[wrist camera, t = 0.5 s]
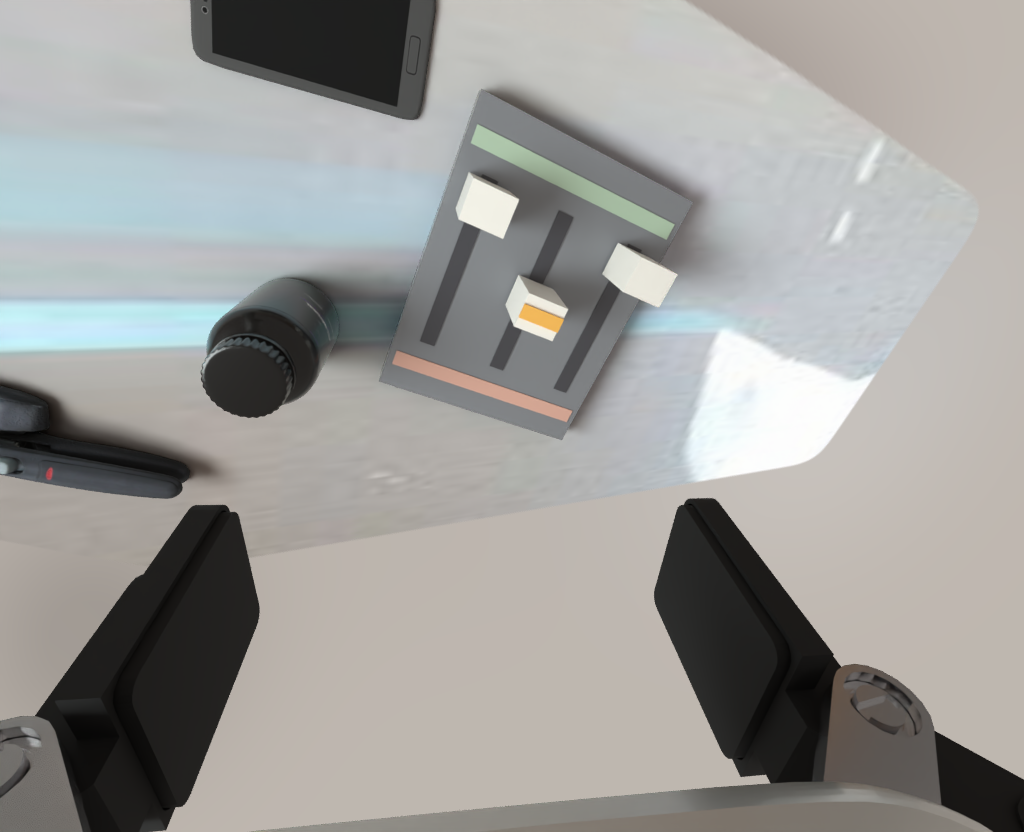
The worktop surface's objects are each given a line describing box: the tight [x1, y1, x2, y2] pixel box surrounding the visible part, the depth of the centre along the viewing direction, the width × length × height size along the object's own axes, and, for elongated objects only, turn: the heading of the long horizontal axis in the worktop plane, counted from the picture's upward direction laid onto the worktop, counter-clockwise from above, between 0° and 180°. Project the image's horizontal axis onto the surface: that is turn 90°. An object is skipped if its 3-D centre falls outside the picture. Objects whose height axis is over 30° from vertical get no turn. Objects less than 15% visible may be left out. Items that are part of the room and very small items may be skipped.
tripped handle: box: [505, 275, 568, 341], centre depth 37 cm, size 3×2×5 cm
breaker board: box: [379, 89, 693, 440], centre depth 40 cm, size 17×22×2 cm
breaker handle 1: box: [456, 172, 519, 239], centre depth 33 cm, size 3×2×5 cm
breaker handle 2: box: [602, 243, 678, 308], centre depth 37 cm, size 3×2×5 cm
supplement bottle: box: [201, 278, 339, 418], centre depth 35 cm, size 7×7×12 cm
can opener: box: [0, 386, 190, 499], centre depth 40 cm, size 18×7×6 cm, turn 61°
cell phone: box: [190, 0, 436, 120], centre depth 31 cm, size 7×14×1 cm, turn 76°
